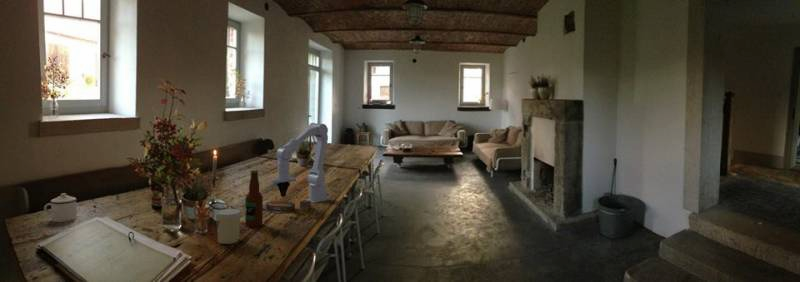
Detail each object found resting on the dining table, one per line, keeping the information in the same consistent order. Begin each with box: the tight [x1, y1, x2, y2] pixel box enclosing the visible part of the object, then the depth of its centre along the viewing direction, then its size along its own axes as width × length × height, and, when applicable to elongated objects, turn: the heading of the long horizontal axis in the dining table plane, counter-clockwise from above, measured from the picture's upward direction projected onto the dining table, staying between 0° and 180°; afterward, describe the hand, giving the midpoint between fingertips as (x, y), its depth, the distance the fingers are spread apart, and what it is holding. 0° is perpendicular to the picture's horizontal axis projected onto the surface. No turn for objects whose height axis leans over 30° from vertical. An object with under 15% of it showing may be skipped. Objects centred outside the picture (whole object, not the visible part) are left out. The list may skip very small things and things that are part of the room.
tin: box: [265, 200, 296, 212], centre depth 218 cm, size 15×3×8 cm
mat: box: [263, 204, 291, 215], centre depth 219 cm, size 8×18×1 cm, turn 50°
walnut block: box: [299, 199, 312, 211], centre depth 223 cm, size 4×4×4 cm
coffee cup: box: [215, 208, 242, 245], centre depth 170 cm, size 9×9×12 cm
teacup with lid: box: [43, 192, 78, 223], centre depth 186 cm, size 12×9×12 cm
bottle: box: [244, 169, 264, 228], centre depth 190 cm, size 7×7×25 cm
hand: (283, 196), depth 222 cm, fingers closed
